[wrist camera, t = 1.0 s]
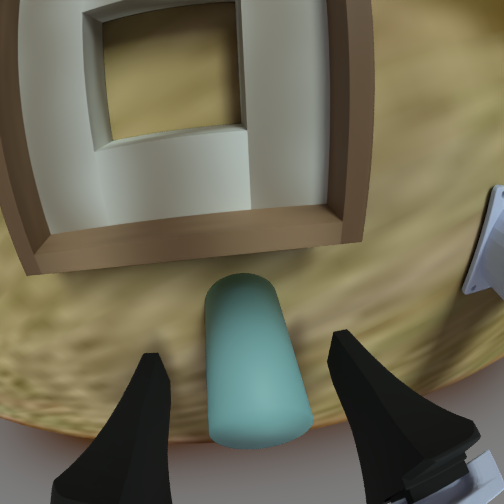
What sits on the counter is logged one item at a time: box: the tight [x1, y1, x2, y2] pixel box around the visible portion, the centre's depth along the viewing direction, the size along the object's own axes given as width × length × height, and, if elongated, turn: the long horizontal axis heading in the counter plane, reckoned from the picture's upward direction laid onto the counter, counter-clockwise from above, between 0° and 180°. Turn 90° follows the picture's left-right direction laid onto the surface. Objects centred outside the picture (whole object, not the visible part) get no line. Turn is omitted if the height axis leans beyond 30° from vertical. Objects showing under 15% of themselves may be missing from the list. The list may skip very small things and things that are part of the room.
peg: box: [205, 273, 314, 449], centre depth 12 cm, size 4×4×7 cm
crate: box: [0, 0, 375, 276], centre depth 7 cm, size 12×14×4 cm
